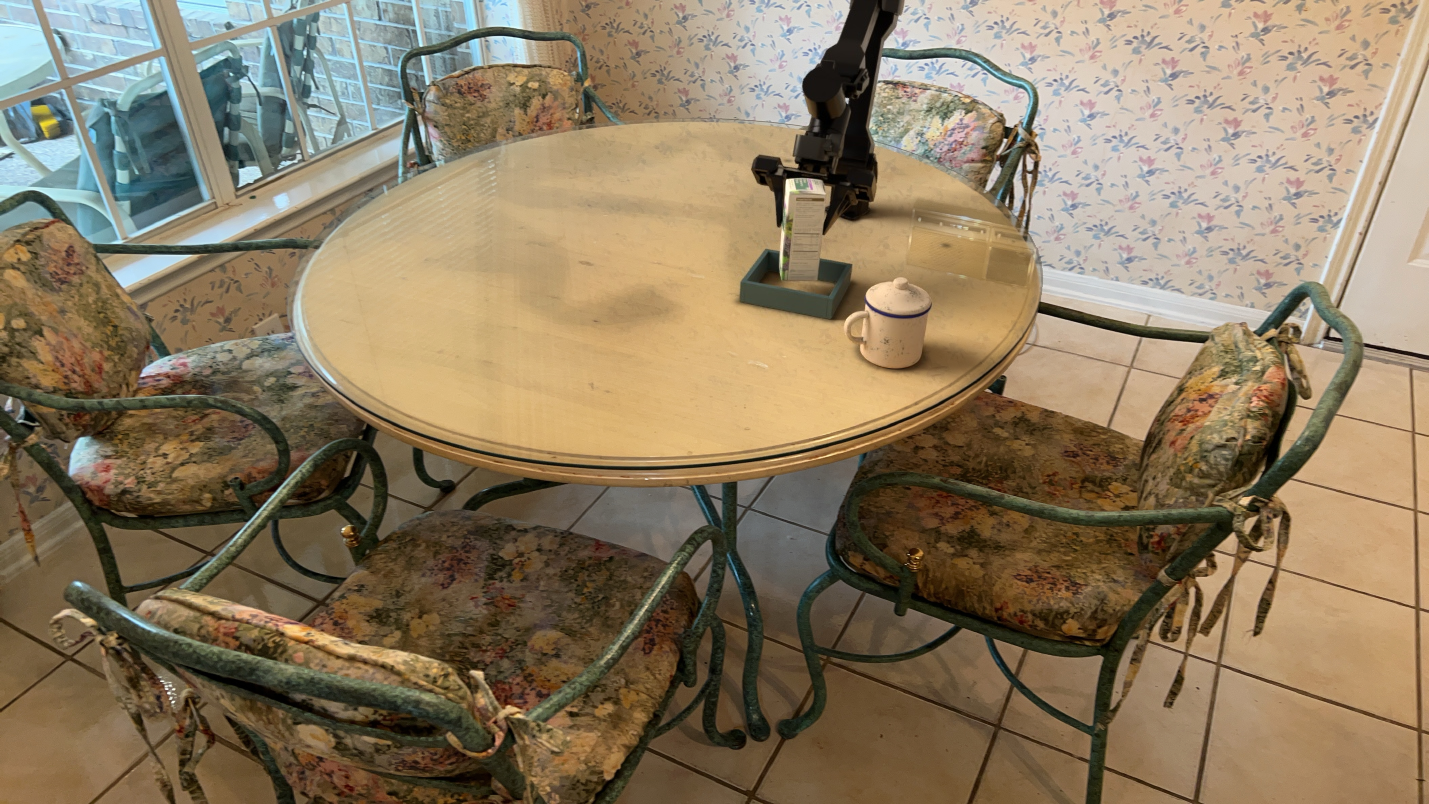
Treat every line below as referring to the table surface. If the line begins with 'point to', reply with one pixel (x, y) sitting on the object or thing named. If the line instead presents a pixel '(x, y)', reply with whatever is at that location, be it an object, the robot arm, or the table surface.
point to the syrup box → (802, 229)
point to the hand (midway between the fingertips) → (800, 230)
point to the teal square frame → (789, 297)
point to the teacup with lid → (892, 323)
